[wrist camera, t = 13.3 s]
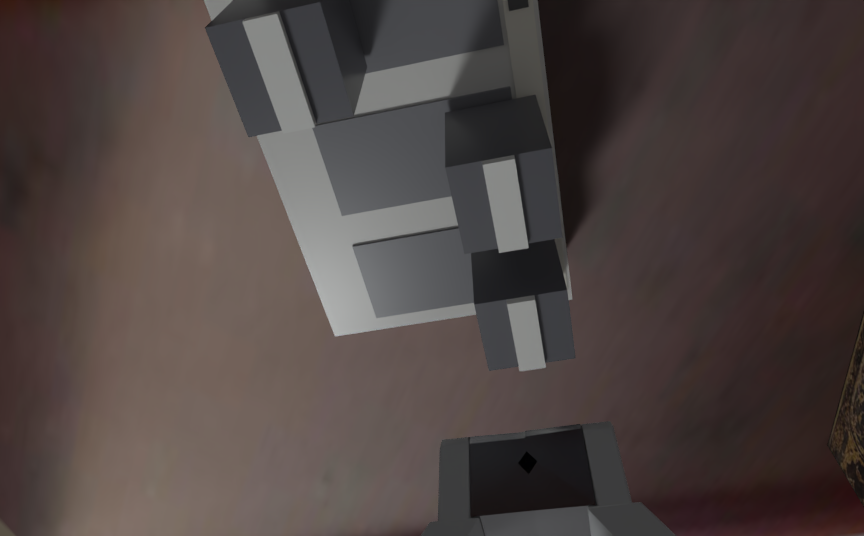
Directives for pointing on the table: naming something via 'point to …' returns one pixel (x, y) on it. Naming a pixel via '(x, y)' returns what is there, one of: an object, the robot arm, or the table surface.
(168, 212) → the table surface
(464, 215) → the tab middle
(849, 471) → the book
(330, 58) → the tab
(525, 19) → the switch panel
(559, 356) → the tab
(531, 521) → the robot arm
